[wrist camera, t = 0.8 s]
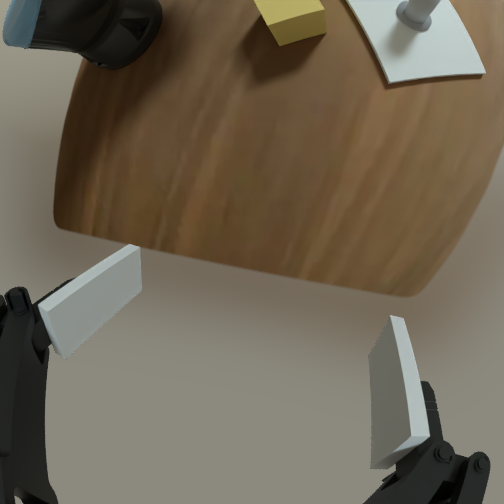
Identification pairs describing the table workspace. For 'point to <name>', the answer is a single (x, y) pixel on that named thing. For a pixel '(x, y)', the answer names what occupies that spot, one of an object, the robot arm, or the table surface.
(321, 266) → the table surface
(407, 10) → the white square plate
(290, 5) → the pale yellow cube
